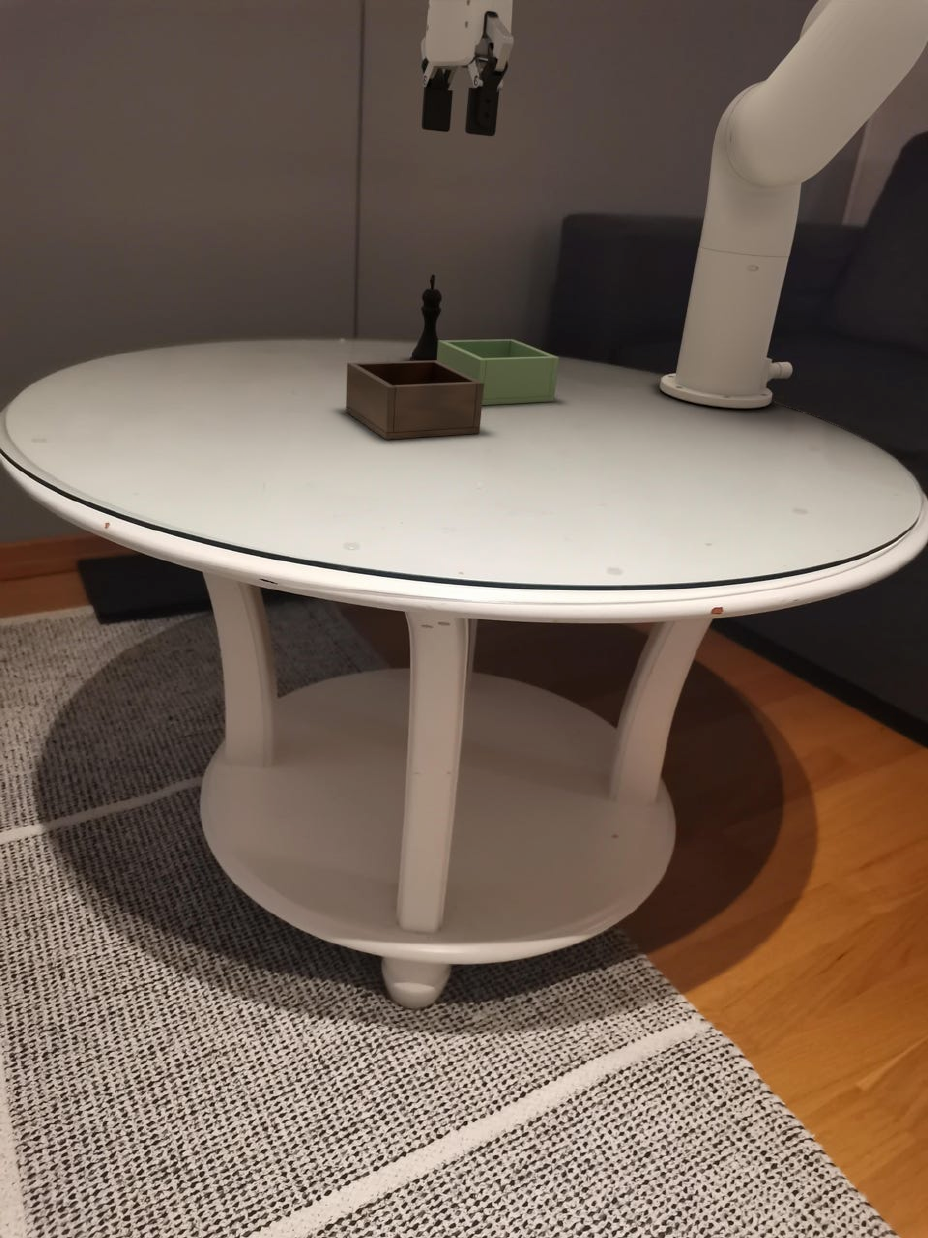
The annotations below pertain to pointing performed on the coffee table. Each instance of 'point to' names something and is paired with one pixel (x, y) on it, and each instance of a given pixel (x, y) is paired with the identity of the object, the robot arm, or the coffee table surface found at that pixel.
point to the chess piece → (428, 325)
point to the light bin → (503, 369)
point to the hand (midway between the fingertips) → (456, 132)
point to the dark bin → (413, 399)
